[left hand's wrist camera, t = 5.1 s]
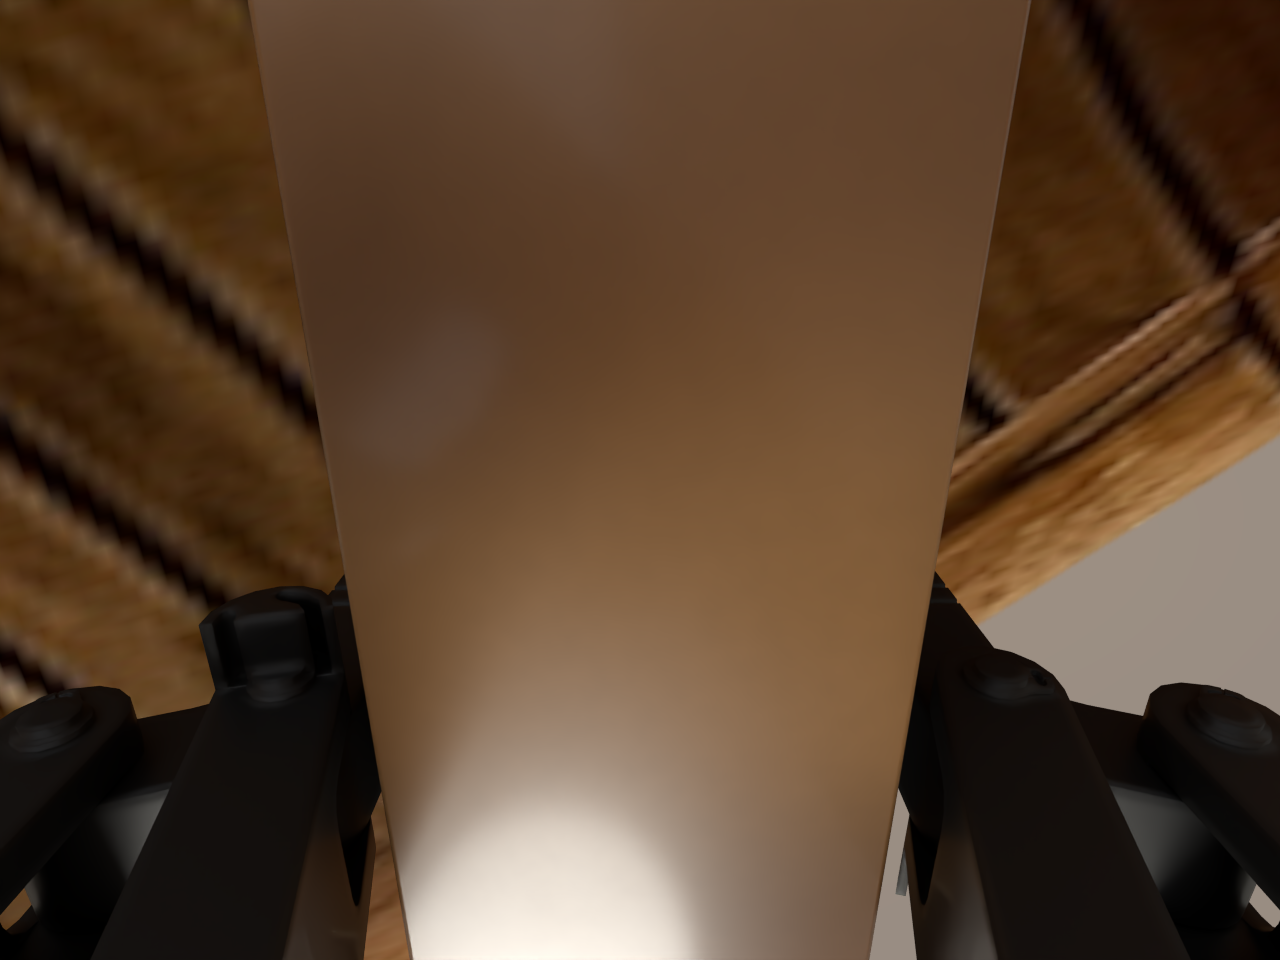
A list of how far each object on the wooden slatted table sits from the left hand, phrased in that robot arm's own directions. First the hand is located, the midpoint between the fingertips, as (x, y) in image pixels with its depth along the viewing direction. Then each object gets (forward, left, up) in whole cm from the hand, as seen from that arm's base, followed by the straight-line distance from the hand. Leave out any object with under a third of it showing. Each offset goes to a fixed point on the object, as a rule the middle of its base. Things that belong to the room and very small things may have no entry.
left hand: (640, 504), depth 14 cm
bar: (-9, +9, -1) cm, 13 cm away
